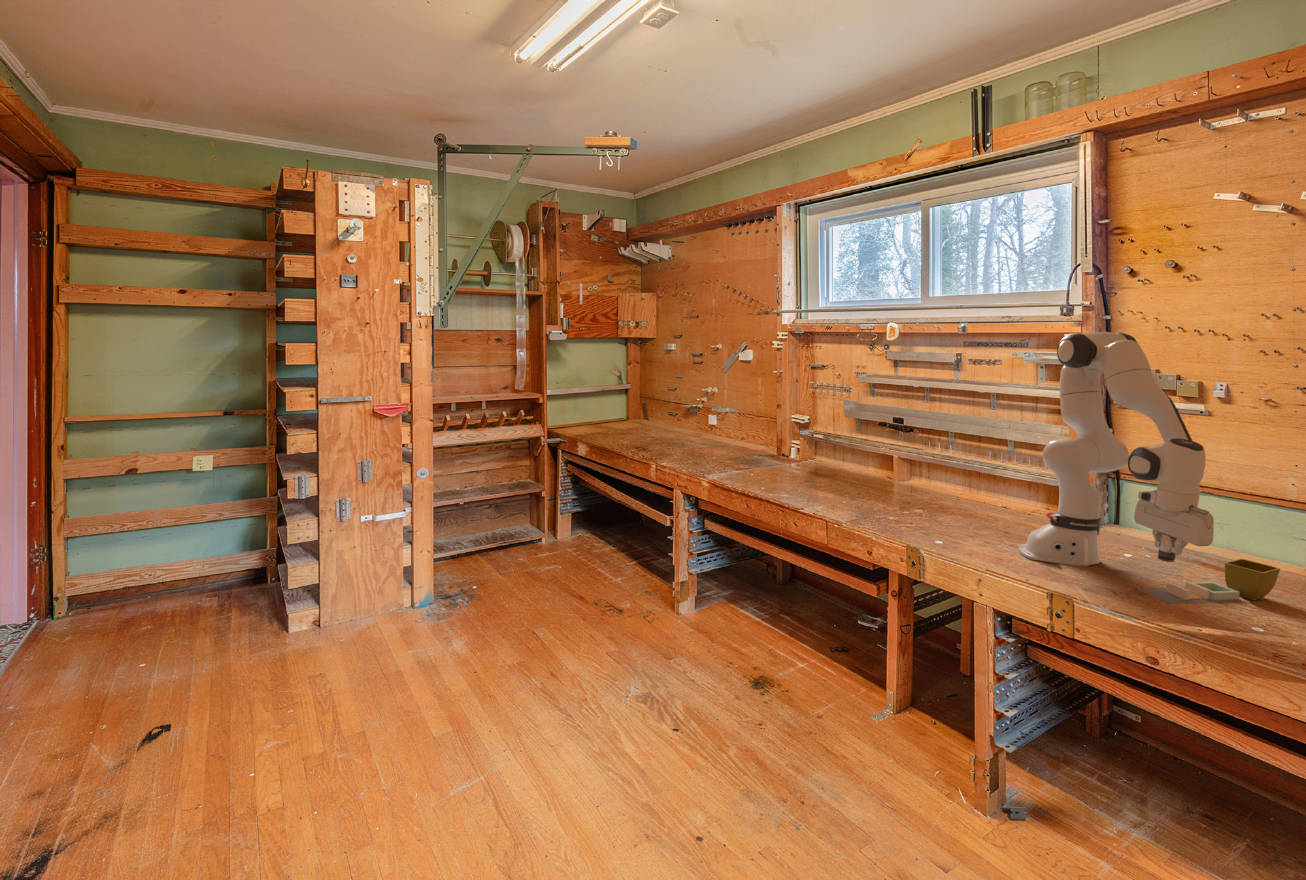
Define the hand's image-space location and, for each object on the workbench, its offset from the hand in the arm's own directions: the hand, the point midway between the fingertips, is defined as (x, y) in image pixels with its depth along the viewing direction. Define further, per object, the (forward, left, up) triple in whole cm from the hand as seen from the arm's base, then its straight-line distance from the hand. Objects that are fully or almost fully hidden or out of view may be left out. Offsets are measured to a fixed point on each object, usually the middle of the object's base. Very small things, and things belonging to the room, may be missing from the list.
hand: (1167, 550), depth 173 cm
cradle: (+7, +2, -14) cm, 15 cm away
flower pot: (+24, +10, -14) cm, 29 cm away
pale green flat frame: (+14, +5, -14) cm, 20 cm away
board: (+7, +2, -14) cm, 15 cm away
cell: (0, 0, -3) cm, 2 cm away
